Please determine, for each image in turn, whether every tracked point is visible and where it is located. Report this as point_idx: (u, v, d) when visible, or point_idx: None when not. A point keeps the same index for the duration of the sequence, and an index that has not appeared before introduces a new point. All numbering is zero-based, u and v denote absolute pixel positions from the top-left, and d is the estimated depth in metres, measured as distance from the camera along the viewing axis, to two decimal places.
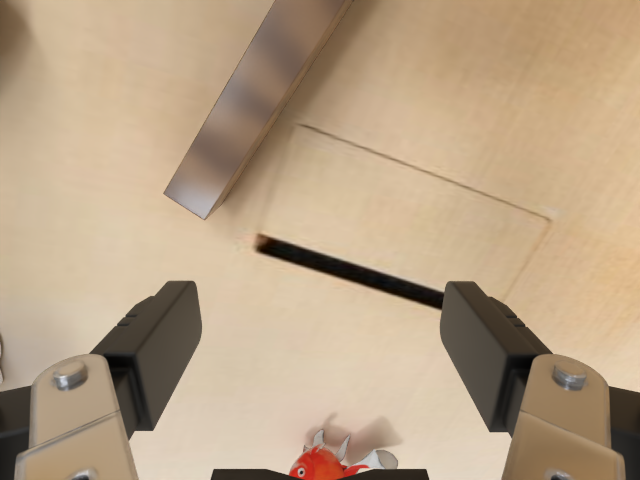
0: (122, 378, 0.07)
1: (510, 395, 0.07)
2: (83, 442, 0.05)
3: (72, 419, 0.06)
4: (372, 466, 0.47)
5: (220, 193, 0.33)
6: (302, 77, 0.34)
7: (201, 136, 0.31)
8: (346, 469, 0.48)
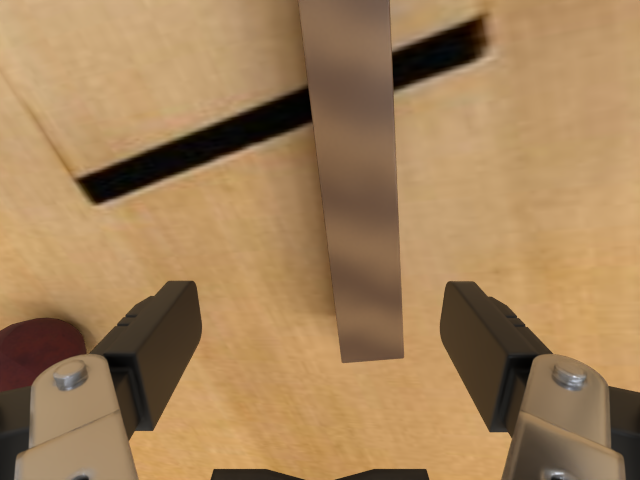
0: (122, 378, 0.07)
1: (510, 396, 0.07)
2: (83, 442, 0.05)
3: (72, 419, 0.06)
4: None
5: None
6: None
7: None
8: None
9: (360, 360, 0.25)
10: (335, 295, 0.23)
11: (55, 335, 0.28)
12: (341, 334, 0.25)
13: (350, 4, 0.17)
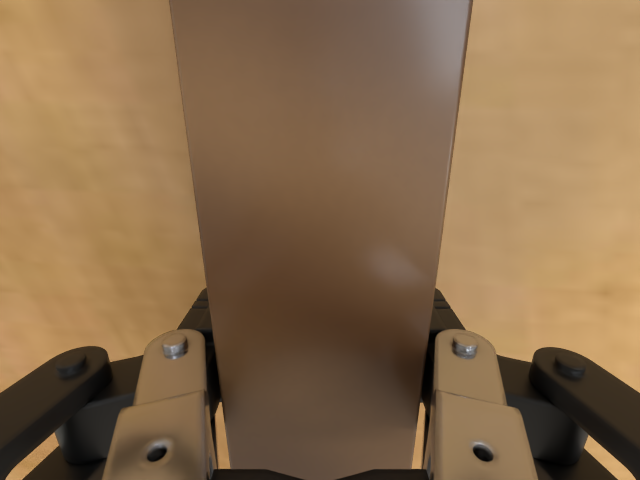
0: (214, 351, 0.08)
1: None
2: (169, 413, 0.05)
3: (168, 387, 0.06)
4: None
5: None
6: None
7: None
8: None
9: None
10: (215, 322, 0.07)
11: None
12: (233, 436, 0.08)
13: None
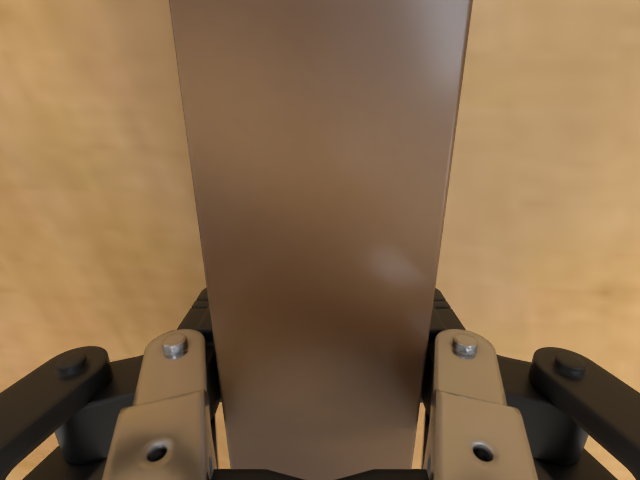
0: (214, 351, 0.08)
1: None
2: (169, 413, 0.05)
3: (169, 387, 0.06)
4: None
5: None
6: None
7: None
8: None
9: None
10: (215, 322, 0.07)
11: None
12: (232, 436, 0.08)
13: None
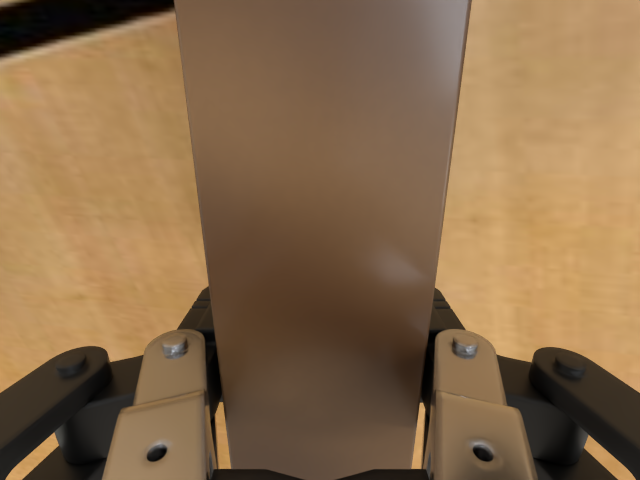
0: (213, 351, 0.08)
1: None
2: (169, 413, 0.05)
3: (168, 387, 0.06)
4: None
5: None
6: None
7: None
8: None
9: None
10: (217, 320, 0.07)
11: None
12: (233, 434, 0.08)
13: None
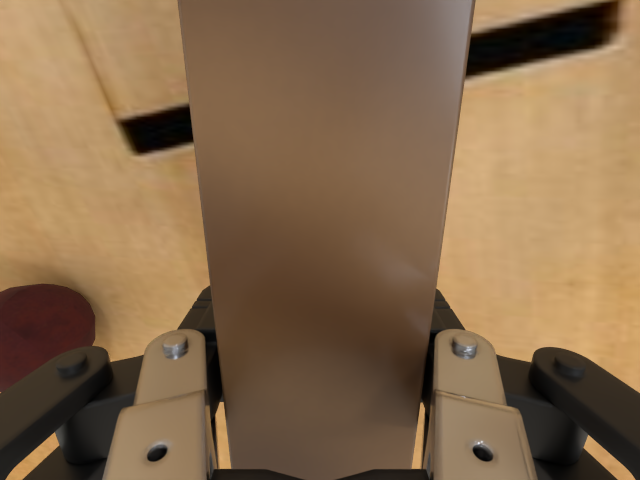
0: (214, 351, 0.08)
1: None
2: (170, 413, 0.05)
3: (169, 387, 0.06)
4: None
5: None
6: None
7: None
8: None
9: None
10: (219, 322, 0.07)
11: (65, 306, 0.23)
12: (233, 436, 0.08)
13: None
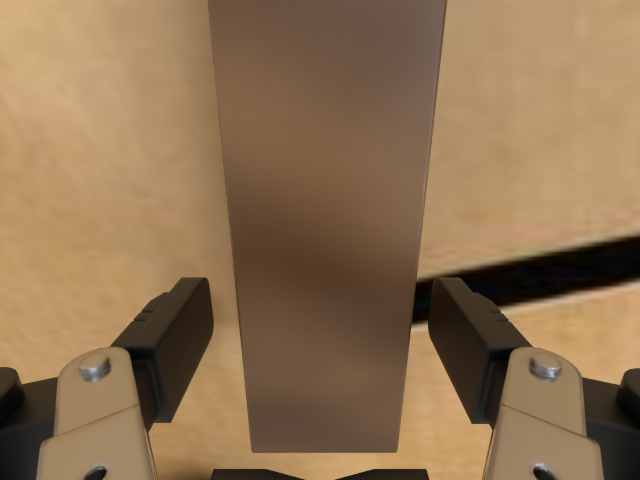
0: (143, 370, 0.07)
1: (490, 388, 0.08)
2: (103, 434, 0.05)
3: (94, 410, 0.06)
4: None
5: None
6: None
7: None
8: None
9: (295, 450, 0.11)
10: (239, 289, 0.09)
11: None
12: (251, 388, 0.10)
13: None
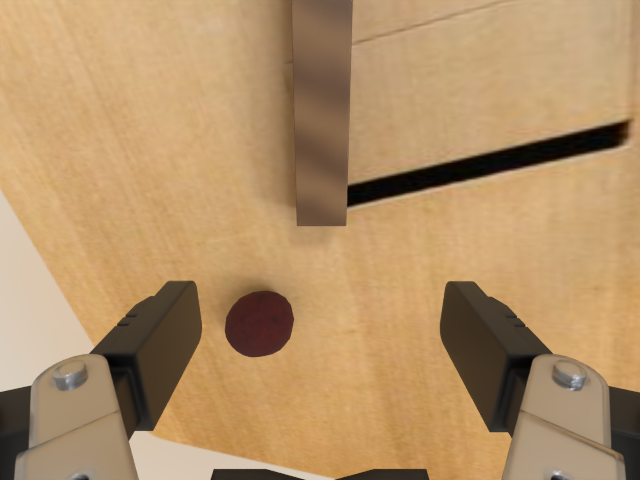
0: (122, 378, 0.07)
1: (510, 396, 0.07)
2: (83, 442, 0.05)
3: (72, 419, 0.06)
4: None
5: None
6: None
7: None
8: None
9: (311, 224, 0.32)
10: (296, 163, 0.30)
11: (285, 304, 0.38)
12: (298, 198, 0.31)
13: None
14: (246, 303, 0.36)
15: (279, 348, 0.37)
